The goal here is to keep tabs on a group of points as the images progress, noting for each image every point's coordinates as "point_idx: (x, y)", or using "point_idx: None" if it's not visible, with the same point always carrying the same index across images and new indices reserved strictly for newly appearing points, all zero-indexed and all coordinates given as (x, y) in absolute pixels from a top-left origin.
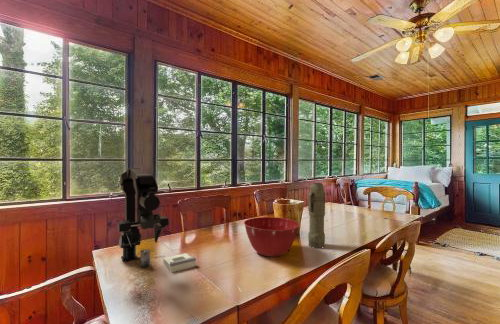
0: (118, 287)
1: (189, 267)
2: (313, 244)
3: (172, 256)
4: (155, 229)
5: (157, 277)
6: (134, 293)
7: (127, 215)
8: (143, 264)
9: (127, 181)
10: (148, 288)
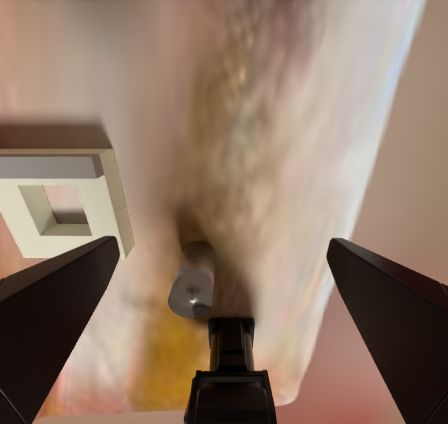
0: (331, 132)
1: (28, 149)
2: None
3: None
4: (19, 410)
5: (175, 133)
6: (300, 20)
7: None
8: (207, 253)
9: None
10: (234, 35)
